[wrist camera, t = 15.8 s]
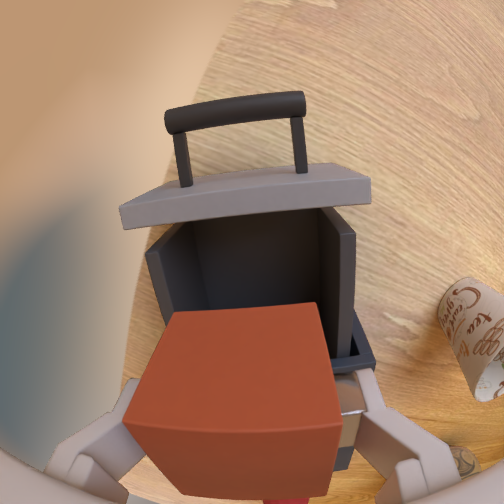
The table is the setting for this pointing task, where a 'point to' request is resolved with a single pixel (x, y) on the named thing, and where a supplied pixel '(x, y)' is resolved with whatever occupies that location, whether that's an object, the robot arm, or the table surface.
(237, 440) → the block
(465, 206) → the table surface
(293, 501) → the tomato
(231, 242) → the drawer
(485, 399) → the mug
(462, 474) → the ceramic bowl
